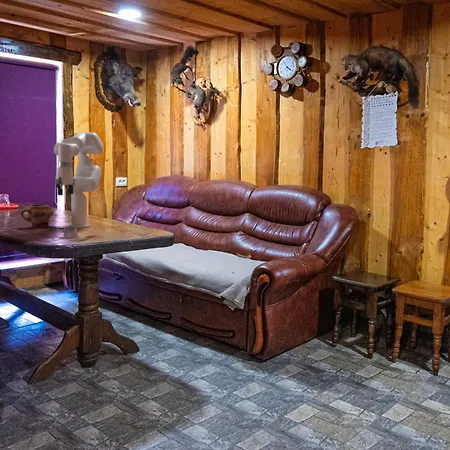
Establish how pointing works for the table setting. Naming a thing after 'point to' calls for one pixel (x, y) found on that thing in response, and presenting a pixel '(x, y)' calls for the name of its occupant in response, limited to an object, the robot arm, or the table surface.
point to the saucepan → (69, 231)
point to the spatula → (82, 238)
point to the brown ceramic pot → (38, 215)
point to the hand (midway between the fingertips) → (65, 194)
